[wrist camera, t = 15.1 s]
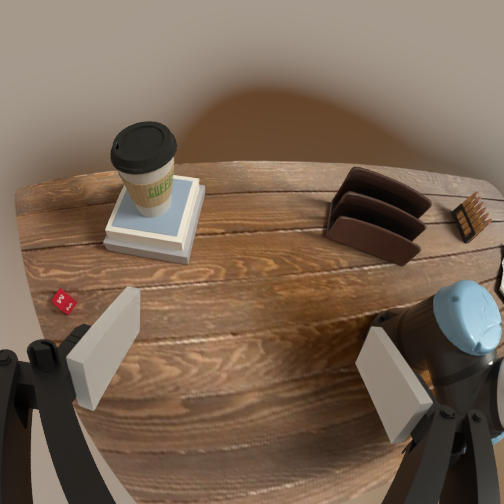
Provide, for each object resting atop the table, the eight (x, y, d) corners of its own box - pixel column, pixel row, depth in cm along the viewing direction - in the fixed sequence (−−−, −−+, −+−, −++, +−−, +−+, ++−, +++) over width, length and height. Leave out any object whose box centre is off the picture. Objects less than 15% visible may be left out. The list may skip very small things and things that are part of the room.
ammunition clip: (451, 212, 70) (474, 188, 60) (454, 212, 71) (478, 189, 60) (465, 243, 66) (491, 221, 55) (468, 243, 66) (494, 222, 55)
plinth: (204, 195, 59) (205, 175, 53) (188, 264, 51) (186, 248, 46) (133, 185, 57) (128, 165, 52) (107, 250, 50) (98, 233, 44)
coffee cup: (186, 218, 48) (183, 154, 35) (131, 233, 45) (109, 172, 32) (174, 176, 52) (170, 113, 39) (124, 189, 49) (107, 128, 36)
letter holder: (330, 202, 63) (355, 159, 51) (402, 231, 63) (436, 198, 51) (324, 238, 58) (352, 197, 46) (402, 267, 58) (441, 236, 46)
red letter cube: (68, 315, 43) (61, 310, 40) (58, 306, 43) (51, 301, 41) (77, 302, 44) (70, 297, 42) (66, 293, 45) (60, 287, 42)
